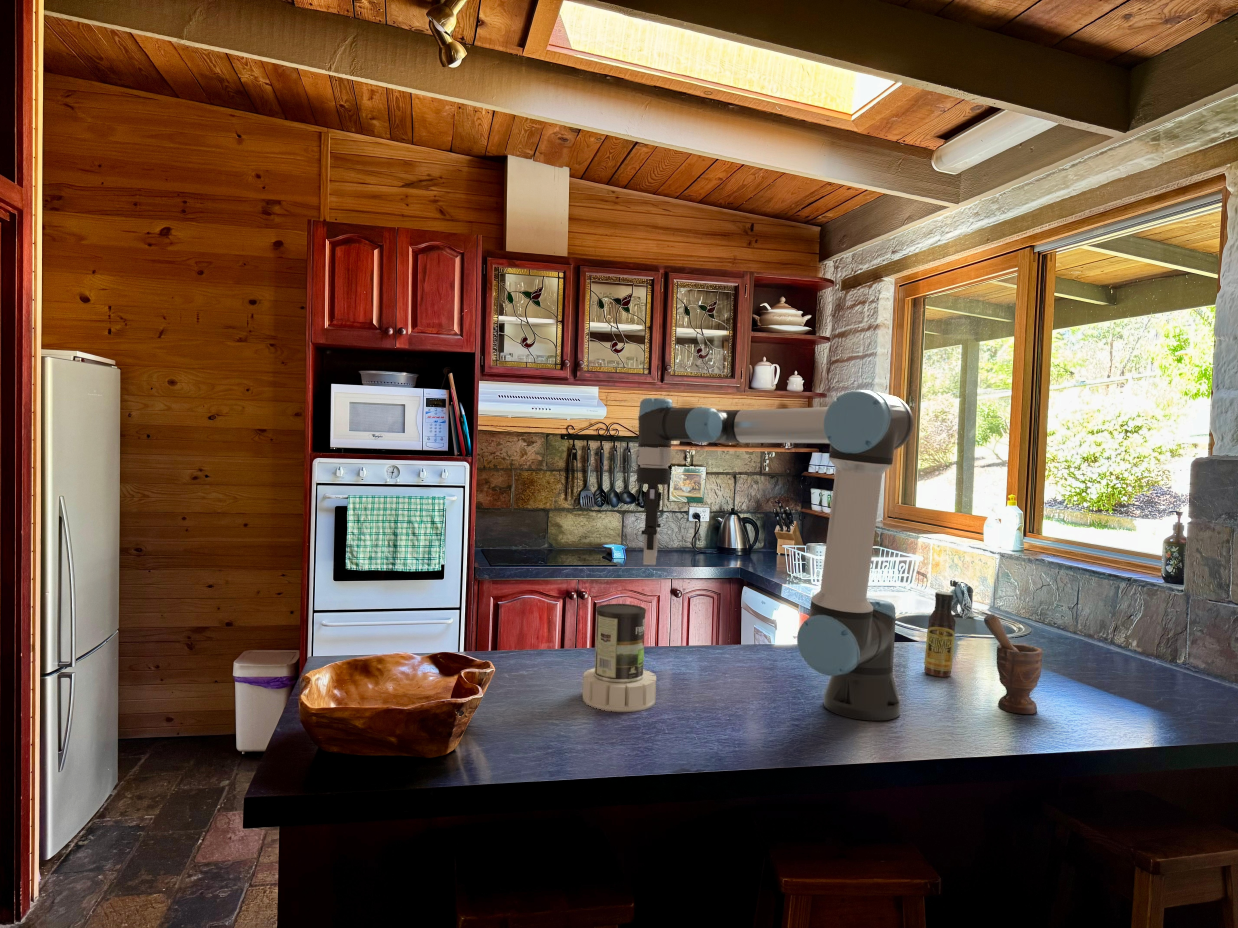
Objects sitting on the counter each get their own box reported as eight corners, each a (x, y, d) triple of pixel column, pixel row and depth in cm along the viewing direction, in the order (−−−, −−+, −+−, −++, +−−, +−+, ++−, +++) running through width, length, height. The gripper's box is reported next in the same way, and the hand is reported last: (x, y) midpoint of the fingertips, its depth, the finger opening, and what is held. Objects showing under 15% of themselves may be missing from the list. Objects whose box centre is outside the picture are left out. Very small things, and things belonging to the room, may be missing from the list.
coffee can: (647, 671, 173) (649, 605, 173) (638, 685, 163) (641, 614, 163) (599, 666, 176) (602, 601, 175) (588, 680, 165) (590, 611, 165)
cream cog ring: (656, 690, 176) (656, 667, 176) (654, 713, 161) (655, 688, 161) (586, 687, 177) (587, 664, 177) (578, 709, 162) (579, 684, 162)
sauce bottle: (923, 675, 196) (927, 593, 195) (924, 669, 202) (928, 589, 201) (953, 679, 193) (957, 595, 193) (952, 672, 199) (956, 591, 199)
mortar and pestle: (1006, 719, 166) (1011, 621, 165) (973, 705, 174) (978, 612, 173) (1048, 713, 170) (1053, 618, 170) (1014, 701, 178) (1019, 609, 178)
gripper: (639, 464, 198) (636, 551, 199) (634, 467, 173) (631, 567, 174) (670, 465, 198) (667, 553, 198) (670, 469, 173) (666, 569, 174)
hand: (650, 560), depth 186 cm, fingers open, 13 cm apart
